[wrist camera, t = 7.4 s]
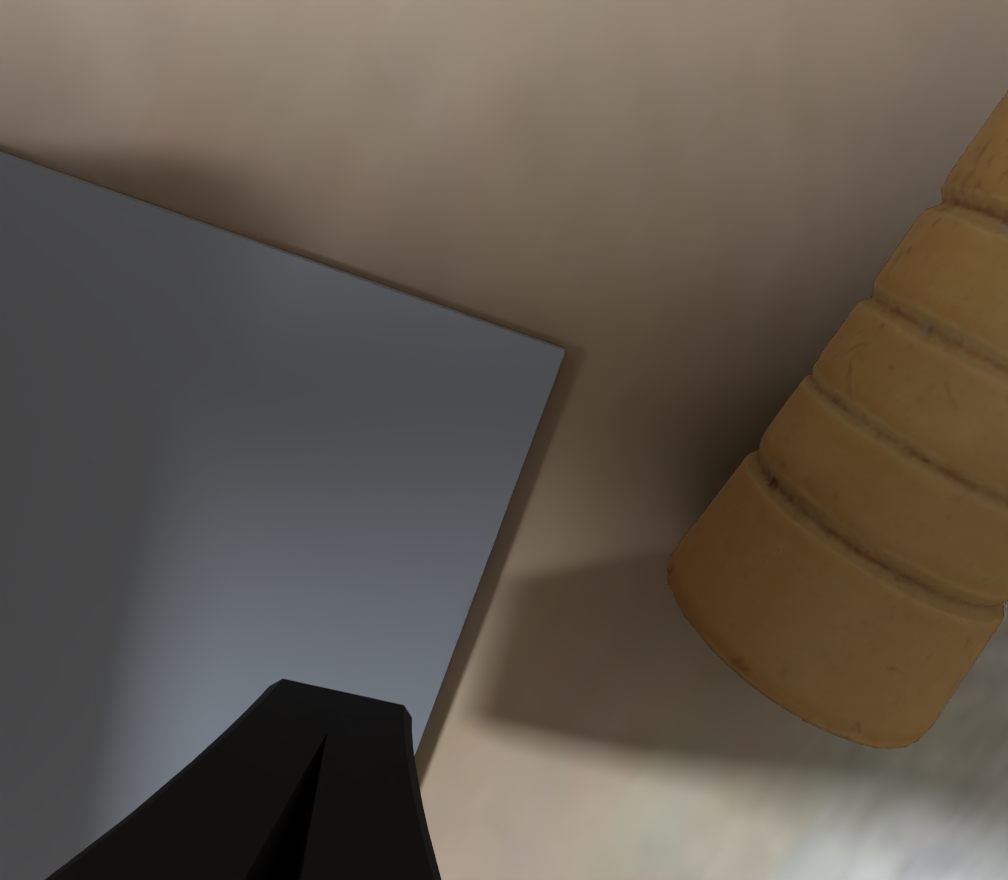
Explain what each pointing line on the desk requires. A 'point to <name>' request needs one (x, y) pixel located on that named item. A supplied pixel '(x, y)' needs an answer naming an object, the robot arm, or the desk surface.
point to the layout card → (221, 493)
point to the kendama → (878, 489)
